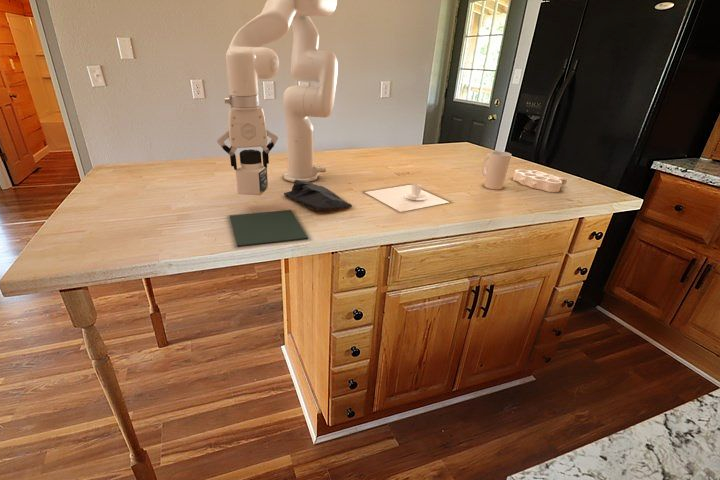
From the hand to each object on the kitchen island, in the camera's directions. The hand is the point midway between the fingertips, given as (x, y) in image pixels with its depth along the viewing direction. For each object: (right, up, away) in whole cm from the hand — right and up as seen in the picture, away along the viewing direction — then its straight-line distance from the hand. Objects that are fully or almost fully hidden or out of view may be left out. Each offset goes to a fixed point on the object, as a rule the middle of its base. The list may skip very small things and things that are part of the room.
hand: (250, 167), depth 112 cm
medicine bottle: (0, -6, +4) cm, 8 cm away
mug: (+82, +1, +31) cm, 88 cm away
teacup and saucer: (+49, -6, +18) cm, 52 cm away
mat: (+5, -18, -5) cm, 19 cm away
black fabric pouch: (+19, -8, +13) cm, 24 cm away
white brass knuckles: (+101, +2, +33) cm, 106 cm away
